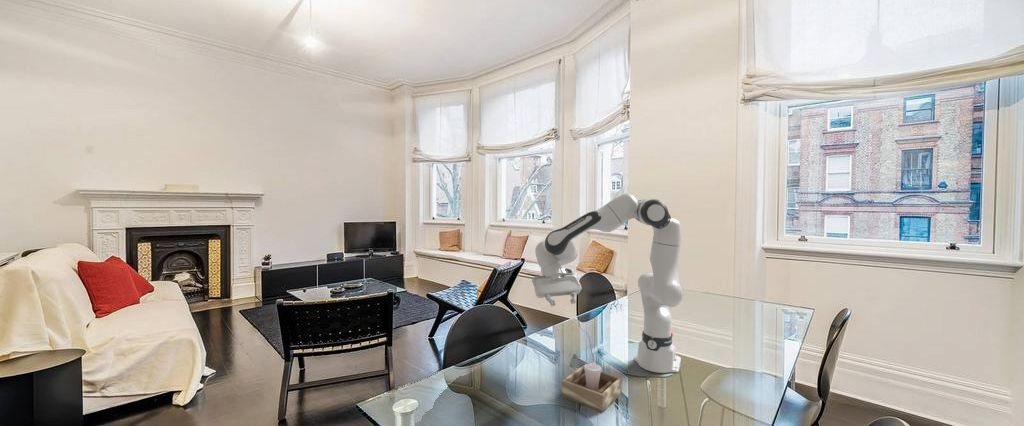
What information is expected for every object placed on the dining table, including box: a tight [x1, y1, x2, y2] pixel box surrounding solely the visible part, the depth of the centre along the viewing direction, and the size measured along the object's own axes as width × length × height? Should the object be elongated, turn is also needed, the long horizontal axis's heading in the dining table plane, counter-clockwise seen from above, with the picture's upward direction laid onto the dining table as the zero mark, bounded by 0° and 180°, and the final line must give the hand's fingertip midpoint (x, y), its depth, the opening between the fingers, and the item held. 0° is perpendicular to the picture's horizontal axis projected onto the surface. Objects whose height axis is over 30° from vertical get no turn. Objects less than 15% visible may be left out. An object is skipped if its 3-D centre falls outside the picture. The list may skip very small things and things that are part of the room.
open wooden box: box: [561, 365, 623, 413], centre depth 146 cm, size 16×16×6 cm
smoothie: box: [583, 354, 603, 391], centre depth 146 cm, size 6×6×14 cm
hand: (563, 304), depth 163 cm, fingers open, 8 cm apart
